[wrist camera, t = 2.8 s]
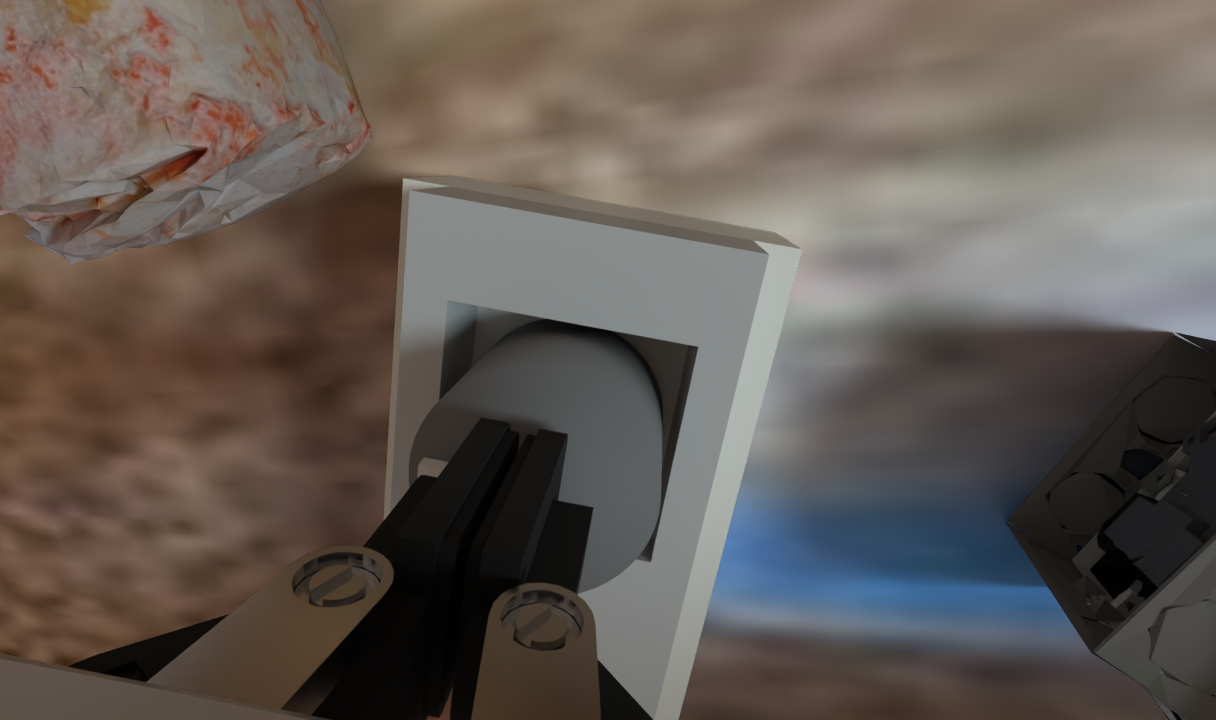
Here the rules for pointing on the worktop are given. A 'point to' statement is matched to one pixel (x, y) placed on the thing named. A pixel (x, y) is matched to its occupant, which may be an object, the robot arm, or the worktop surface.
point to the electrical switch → (1140, 532)
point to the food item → (166, 116)
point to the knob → (568, 428)
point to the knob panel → (645, 317)
